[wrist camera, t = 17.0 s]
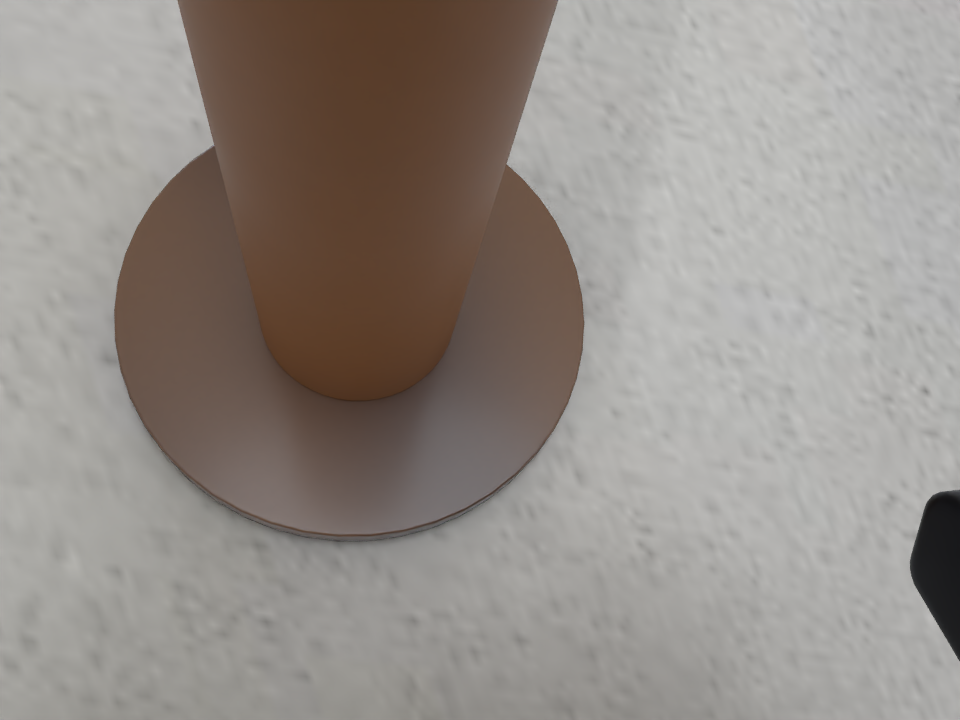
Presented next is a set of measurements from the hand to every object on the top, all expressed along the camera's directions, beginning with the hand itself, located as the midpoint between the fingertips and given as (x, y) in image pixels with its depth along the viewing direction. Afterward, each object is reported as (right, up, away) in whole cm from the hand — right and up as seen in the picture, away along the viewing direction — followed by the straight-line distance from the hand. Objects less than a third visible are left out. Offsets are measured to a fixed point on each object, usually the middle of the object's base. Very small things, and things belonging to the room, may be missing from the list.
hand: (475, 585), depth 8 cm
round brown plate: (-3, +3, +15) cm, 16 cm away
